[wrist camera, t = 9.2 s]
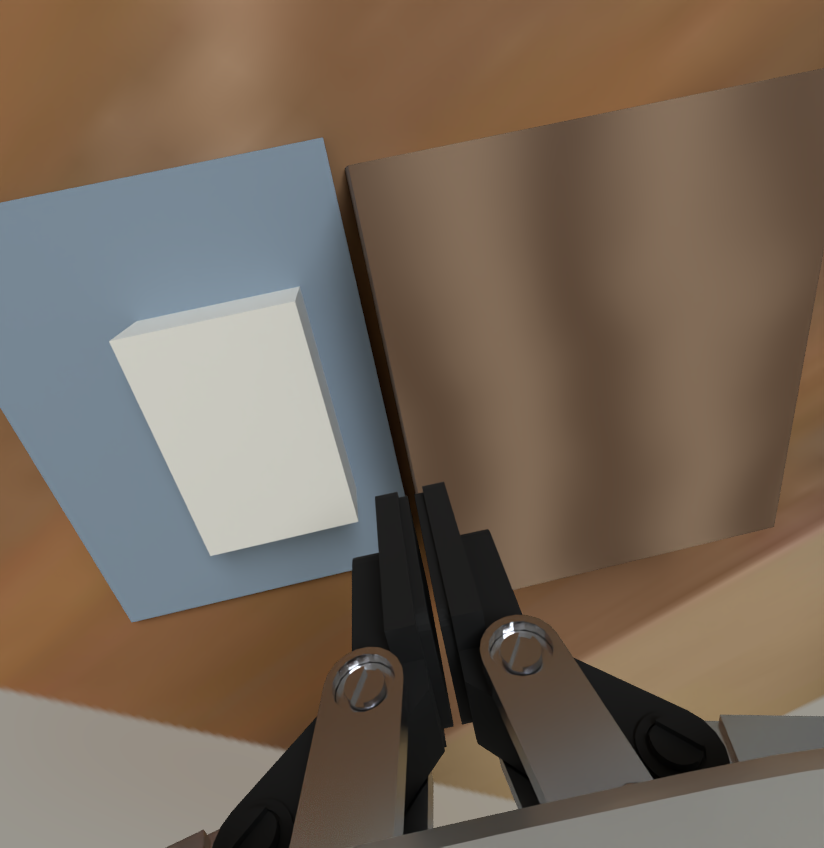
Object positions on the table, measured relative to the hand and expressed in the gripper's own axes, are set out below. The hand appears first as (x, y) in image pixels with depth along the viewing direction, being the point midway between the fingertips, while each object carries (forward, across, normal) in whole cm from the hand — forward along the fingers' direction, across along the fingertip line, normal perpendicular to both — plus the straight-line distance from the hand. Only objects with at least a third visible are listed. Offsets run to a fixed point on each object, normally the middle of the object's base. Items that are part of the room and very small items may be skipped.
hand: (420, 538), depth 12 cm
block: (+7, +5, 0) cm, 9 cm away
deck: (+10, -7, 0) cm, 13 cm away
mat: (+10, +8, 0) cm, 13 cm away
